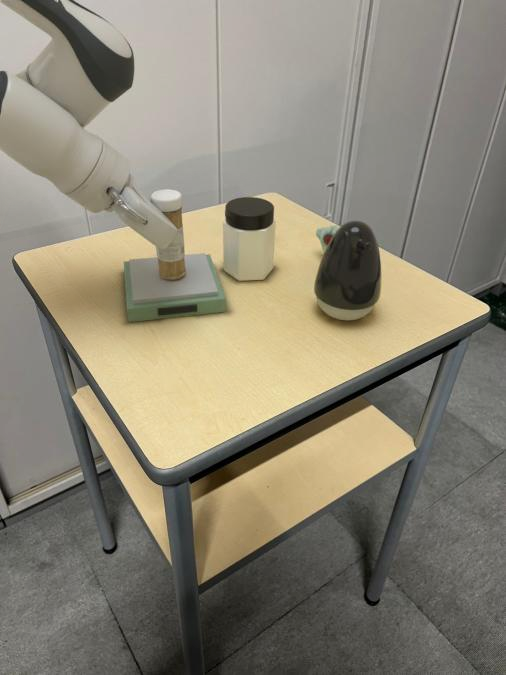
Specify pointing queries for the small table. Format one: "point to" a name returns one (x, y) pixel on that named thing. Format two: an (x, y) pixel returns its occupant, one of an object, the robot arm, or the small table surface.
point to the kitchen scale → (172, 289)
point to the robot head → (326, 235)
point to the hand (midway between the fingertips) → (172, 232)
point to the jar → (248, 238)
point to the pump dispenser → (349, 273)
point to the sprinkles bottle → (172, 255)
